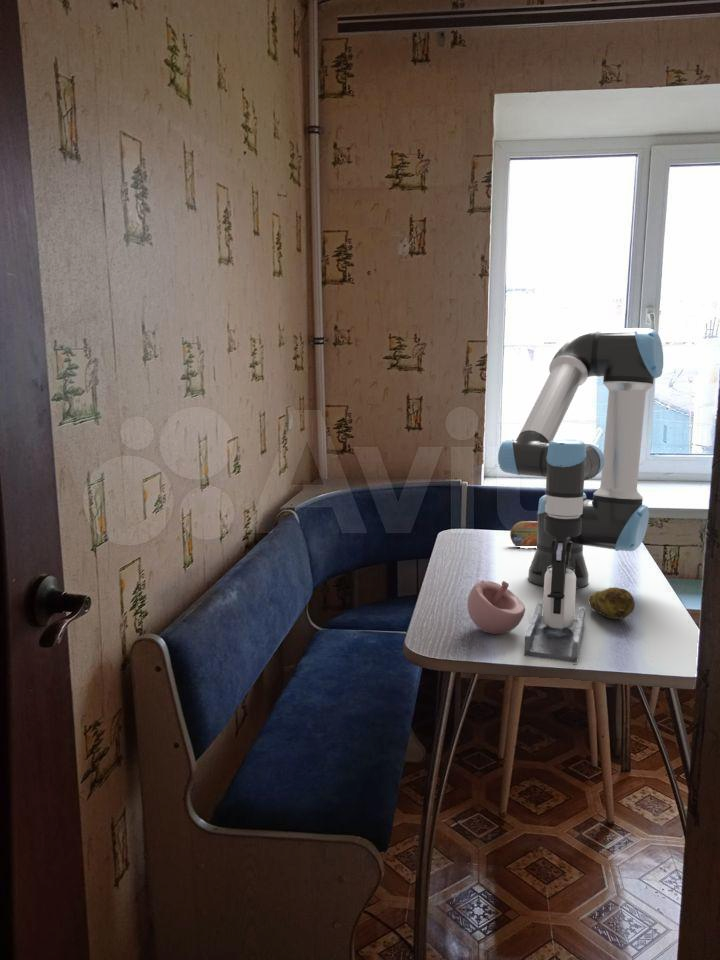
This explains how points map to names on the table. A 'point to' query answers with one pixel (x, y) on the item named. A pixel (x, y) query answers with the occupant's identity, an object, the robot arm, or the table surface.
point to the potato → (612, 603)
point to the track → (553, 638)
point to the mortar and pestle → (494, 607)
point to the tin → (524, 533)
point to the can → (569, 597)
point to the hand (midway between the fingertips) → (558, 621)
